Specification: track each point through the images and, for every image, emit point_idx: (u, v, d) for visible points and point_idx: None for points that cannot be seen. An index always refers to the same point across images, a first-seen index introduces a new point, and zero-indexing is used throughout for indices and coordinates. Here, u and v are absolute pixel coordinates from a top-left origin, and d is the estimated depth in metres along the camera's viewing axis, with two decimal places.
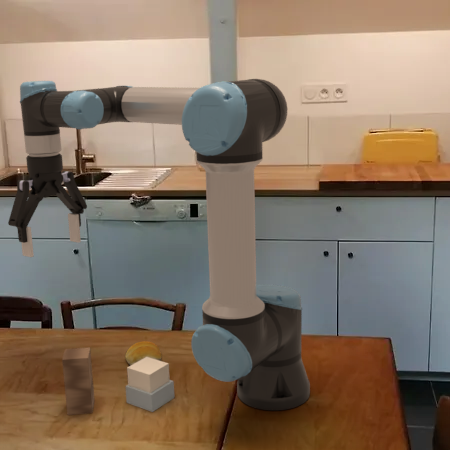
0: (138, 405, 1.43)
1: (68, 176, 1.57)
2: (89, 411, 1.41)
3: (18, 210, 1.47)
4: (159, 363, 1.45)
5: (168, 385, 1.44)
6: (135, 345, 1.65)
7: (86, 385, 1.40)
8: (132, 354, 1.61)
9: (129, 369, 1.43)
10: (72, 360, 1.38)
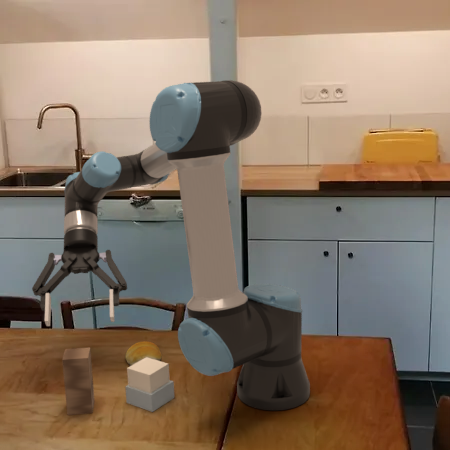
0: (138, 405, 1.43)
1: (105, 254, 1.57)
2: (89, 411, 1.41)
3: None
4: (159, 363, 1.45)
5: (168, 385, 1.44)
6: (135, 345, 1.65)
7: (86, 385, 1.40)
8: (132, 354, 1.61)
9: (129, 369, 1.43)
10: (72, 360, 1.38)
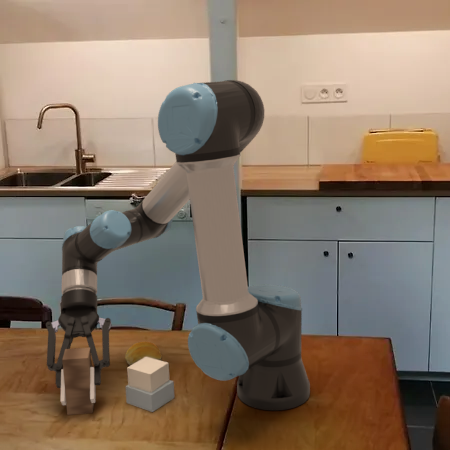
0: (138, 405, 1.43)
1: None
2: (89, 411, 1.41)
3: None
4: (159, 362, 1.45)
5: (168, 385, 1.44)
6: (135, 345, 1.65)
7: (86, 385, 1.40)
8: (132, 354, 1.61)
9: (129, 369, 1.43)
10: (72, 360, 1.38)
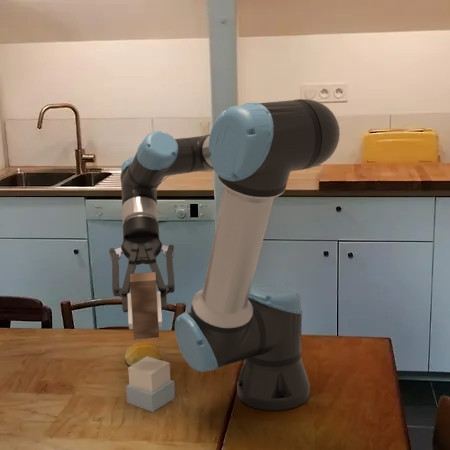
0: (138, 405, 1.43)
1: (168, 248, 1.45)
2: (156, 335, 1.39)
3: (112, 276, 1.41)
4: (160, 362, 1.45)
5: (168, 385, 1.44)
6: (135, 346, 1.65)
7: (153, 308, 1.38)
8: (132, 355, 1.61)
9: (130, 369, 1.43)
10: (140, 282, 1.36)
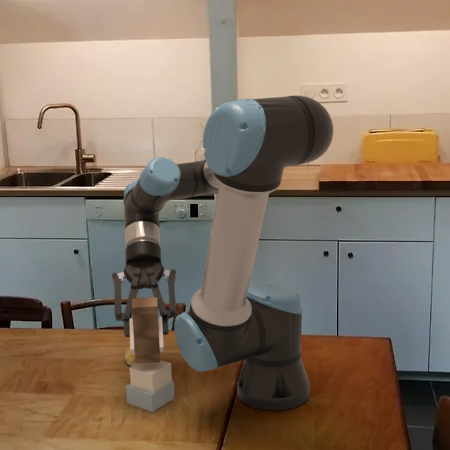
0: (138, 405, 1.43)
1: (170, 273, 1.47)
2: (157, 360, 1.41)
3: None
4: (161, 363, 1.45)
5: (168, 385, 1.44)
6: None
7: (154, 334, 1.40)
8: (132, 355, 1.61)
9: (131, 369, 1.43)
10: (142, 308, 1.38)
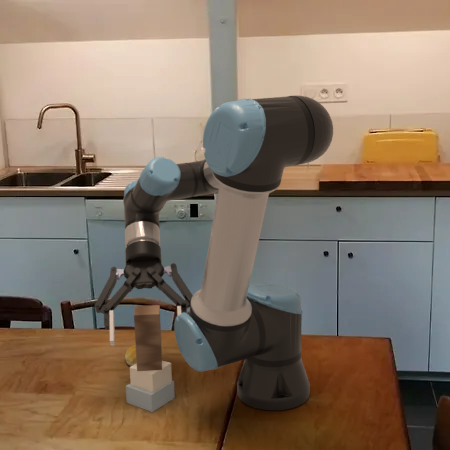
0: (138, 405, 1.43)
1: (170, 268, 1.48)
2: (159, 368, 1.42)
3: None
4: None
5: (168, 385, 1.44)
6: (135, 346, 1.65)
7: (156, 341, 1.40)
8: (132, 355, 1.61)
9: (131, 369, 1.43)
10: (144, 316, 1.39)
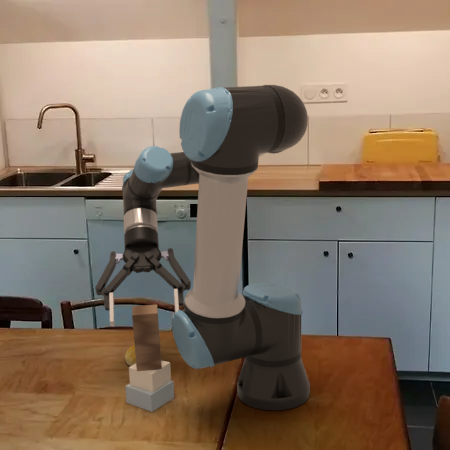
0: (138, 405, 1.43)
1: (167, 253, 1.54)
2: (158, 367, 1.42)
3: None
4: None
5: (168, 385, 1.44)
6: (134, 346, 1.64)
7: (155, 341, 1.40)
8: (132, 355, 1.61)
9: (131, 369, 1.43)
10: (142, 316, 1.39)
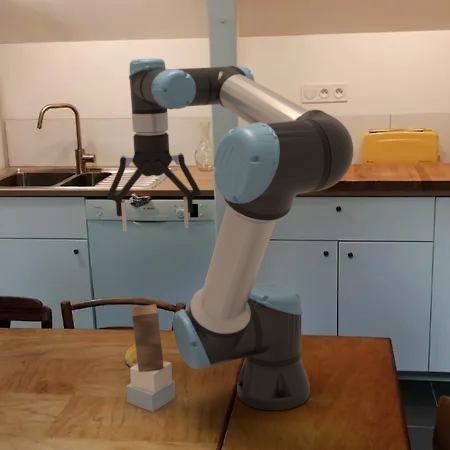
0: (139, 405, 1.43)
1: (178, 158, 1.52)
2: (160, 367, 1.41)
3: (112, 184, 1.52)
4: None
5: (169, 385, 1.44)
6: (134, 346, 1.64)
7: (156, 340, 1.40)
8: (132, 355, 1.61)
9: (132, 370, 1.43)
10: (143, 316, 1.38)
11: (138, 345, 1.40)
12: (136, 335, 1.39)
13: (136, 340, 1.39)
